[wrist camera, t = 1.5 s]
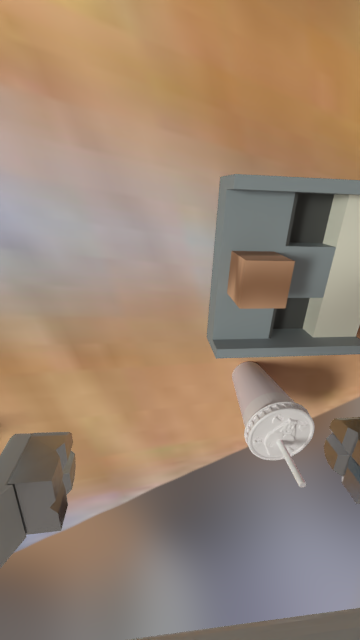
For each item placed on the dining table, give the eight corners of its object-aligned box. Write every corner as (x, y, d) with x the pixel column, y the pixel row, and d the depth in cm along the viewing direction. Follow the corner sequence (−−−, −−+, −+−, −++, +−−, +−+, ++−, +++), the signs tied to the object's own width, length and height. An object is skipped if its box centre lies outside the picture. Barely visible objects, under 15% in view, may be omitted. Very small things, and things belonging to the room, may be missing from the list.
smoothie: (212, 388, 35) (251, 501, 22) (235, 345, 33) (293, 442, 20) (257, 400, 36) (317, 511, 24) (281, 359, 34) (362, 458, 22)
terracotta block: (231, 250, 26) (246, 260, 22) (273, 251, 26) (295, 261, 22) (227, 293, 27) (239, 308, 24) (266, 293, 28) (285, 308, 24)
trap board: (220, 177, 25) (235, 174, 21) (383, 185, 27) (426, 183, 23) (206, 336, 32) (216, 358, 28) (339, 334, 34) (366, 353, 30)
